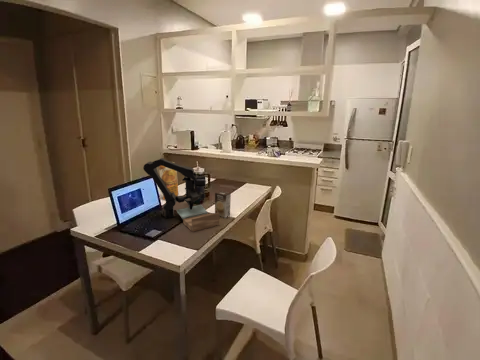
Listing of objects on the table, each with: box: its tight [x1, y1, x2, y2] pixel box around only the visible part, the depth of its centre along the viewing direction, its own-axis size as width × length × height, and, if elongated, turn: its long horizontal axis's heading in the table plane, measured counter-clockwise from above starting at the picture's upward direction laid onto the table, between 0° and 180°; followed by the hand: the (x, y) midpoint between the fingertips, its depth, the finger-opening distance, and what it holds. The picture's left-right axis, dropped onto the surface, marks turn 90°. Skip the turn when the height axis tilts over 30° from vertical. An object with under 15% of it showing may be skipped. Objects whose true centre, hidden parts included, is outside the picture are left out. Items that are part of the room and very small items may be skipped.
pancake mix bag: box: [158, 161, 180, 201], centre depth 213 cm, size 7×19×28 cm, turn 147°
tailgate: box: [176, 204, 208, 220], centre depth 178 cm, size 2×18×10 cm
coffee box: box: [214, 190, 232, 219], centre depth 182 cm, size 9×6×16 cm
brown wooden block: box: [182, 212, 220, 232], centre depth 168 cm, size 14×18×8 cm
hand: (190, 209), depth 180 cm, fingers closed, pressing on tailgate
